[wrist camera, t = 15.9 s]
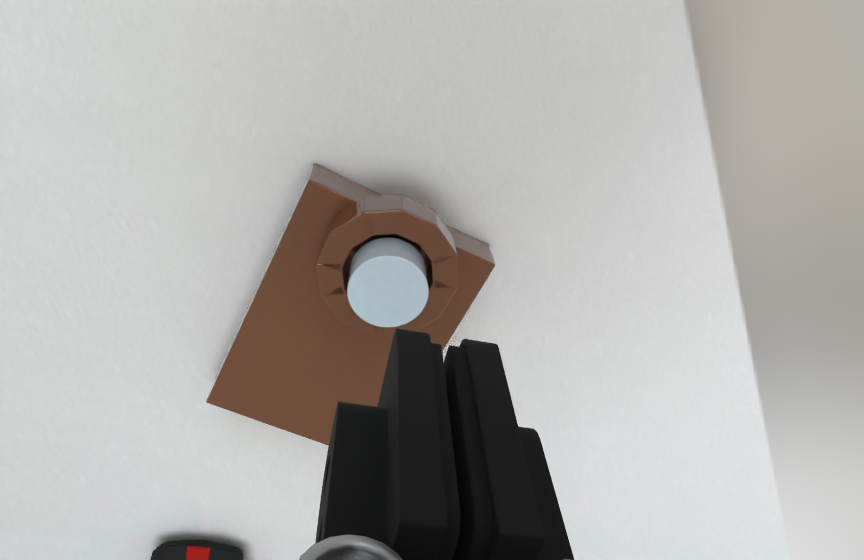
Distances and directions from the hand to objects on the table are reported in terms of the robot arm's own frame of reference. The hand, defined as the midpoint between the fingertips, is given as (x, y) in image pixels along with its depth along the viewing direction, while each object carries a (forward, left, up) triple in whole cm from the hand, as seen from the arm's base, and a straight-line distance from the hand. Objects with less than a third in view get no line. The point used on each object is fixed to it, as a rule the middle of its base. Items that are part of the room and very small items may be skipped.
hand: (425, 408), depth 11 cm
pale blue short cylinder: (+3, +7, -20) cm, 21 cm away
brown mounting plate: (+6, +10, -24) cm, 27 cm away
